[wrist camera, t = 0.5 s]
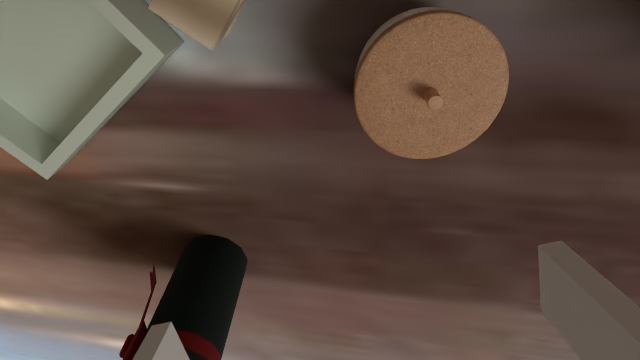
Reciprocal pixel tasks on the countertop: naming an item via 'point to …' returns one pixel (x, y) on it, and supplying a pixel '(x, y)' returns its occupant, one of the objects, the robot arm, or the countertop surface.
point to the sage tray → (72, 71)
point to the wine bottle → (198, 298)
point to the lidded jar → (429, 82)
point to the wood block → (200, 17)
